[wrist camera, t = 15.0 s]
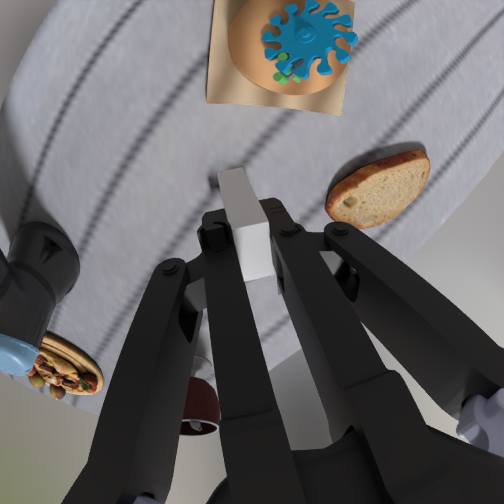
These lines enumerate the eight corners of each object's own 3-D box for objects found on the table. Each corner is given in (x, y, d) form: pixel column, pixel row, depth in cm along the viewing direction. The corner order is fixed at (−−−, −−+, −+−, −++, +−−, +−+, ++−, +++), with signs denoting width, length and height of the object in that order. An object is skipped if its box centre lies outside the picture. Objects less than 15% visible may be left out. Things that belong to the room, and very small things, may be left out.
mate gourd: (207, 382, 71) (214, 448, 55) (157, 375, 66) (156, 445, 50) (224, 352, 63) (234, 431, 47) (165, 344, 58) (164, 426, 42)
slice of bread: (431, 156, 41) (444, 164, 38) (391, 236, 50) (400, 247, 47) (359, 114, 36) (372, 119, 33) (315, 215, 45) (324, 227, 42)
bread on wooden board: (206, 102, 32) (206, 106, 27) (217, -20, 21) (219, -34, 17) (336, 114, 35) (354, 121, 31) (349, 4, 25) (369, -3, 20)
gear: (295, -14, 18) (375, 21, 16) (315, 10, 23) (383, 48, 21) (236, 56, 24) (305, 102, 22) (264, 72, 29) (325, 116, 27)
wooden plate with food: (106, 348, 58) (100, 377, 51) (104, 398, 73) (101, 420, 66) (-1, 309, 47) (-13, 332, 40) (20, 369, 62) (14, 389, 55)
